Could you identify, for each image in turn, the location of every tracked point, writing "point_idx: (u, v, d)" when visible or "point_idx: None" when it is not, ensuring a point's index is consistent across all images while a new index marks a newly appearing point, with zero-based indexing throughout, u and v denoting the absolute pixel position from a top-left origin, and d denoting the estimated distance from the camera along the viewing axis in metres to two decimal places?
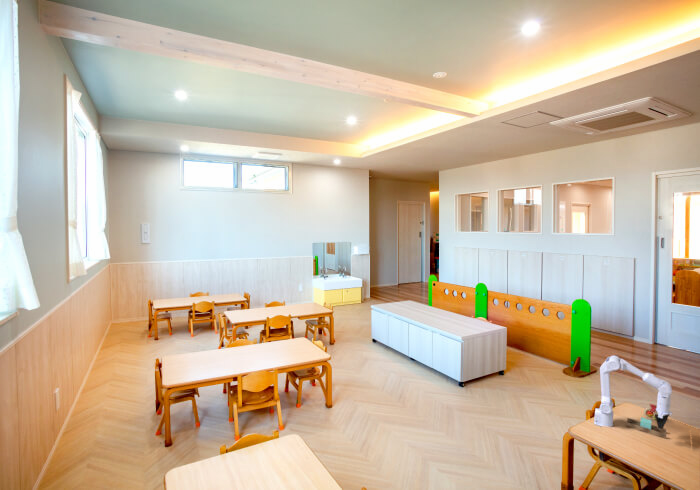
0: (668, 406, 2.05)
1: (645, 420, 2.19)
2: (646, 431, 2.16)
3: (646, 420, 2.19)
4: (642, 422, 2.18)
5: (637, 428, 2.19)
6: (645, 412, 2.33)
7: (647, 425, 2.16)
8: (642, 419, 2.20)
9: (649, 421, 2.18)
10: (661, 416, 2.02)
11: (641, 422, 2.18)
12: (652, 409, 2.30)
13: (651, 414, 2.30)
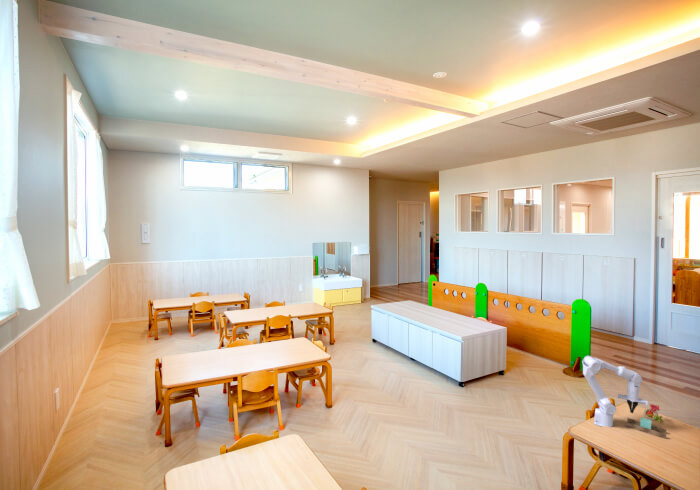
0: (630, 392, 2.21)
1: (645, 420, 2.19)
2: (646, 431, 2.16)
3: (646, 420, 2.19)
4: (642, 422, 2.18)
5: (637, 428, 2.19)
6: (645, 412, 2.33)
7: (647, 425, 2.16)
8: (642, 419, 2.20)
9: (649, 421, 2.18)
10: None
11: (641, 422, 2.18)
12: (652, 409, 2.30)
13: (651, 414, 2.30)
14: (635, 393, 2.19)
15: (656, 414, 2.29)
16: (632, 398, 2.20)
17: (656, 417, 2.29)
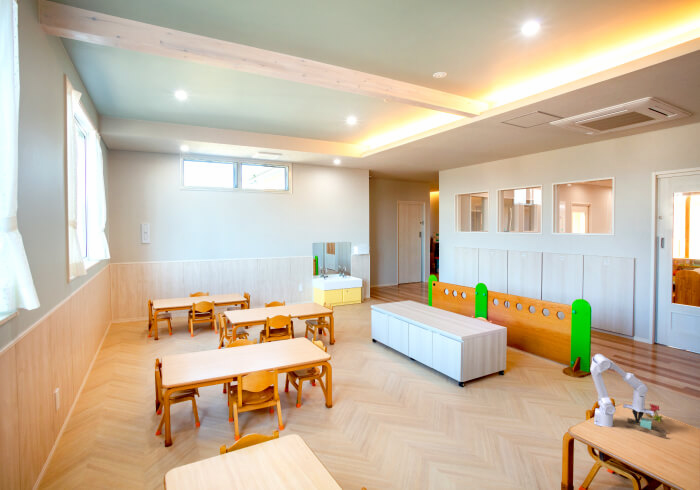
0: (635, 402, 2.20)
1: (645, 420, 2.19)
2: (646, 431, 2.16)
3: (646, 420, 2.19)
4: (642, 422, 2.18)
5: (637, 428, 2.19)
6: None
7: (647, 425, 2.16)
8: (642, 419, 2.20)
9: (649, 421, 2.18)
10: (623, 405, 2.25)
11: (641, 422, 2.18)
12: (652, 409, 2.30)
13: None
14: (640, 403, 2.18)
15: (656, 414, 2.29)
16: (637, 408, 2.19)
17: (656, 417, 2.29)
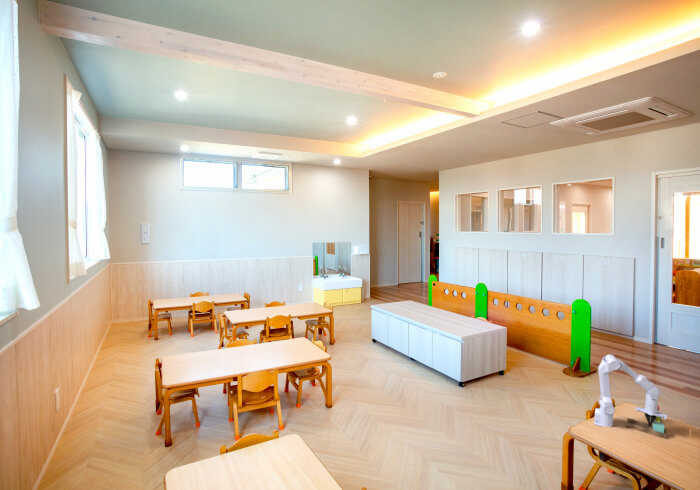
0: (648, 406, 2.16)
1: (658, 424, 2.15)
2: (646, 431, 2.16)
3: (659, 424, 2.15)
4: (655, 426, 2.14)
5: (637, 428, 2.19)
6: None
7: (660, 428, 2.12)
8: (655, 423, 2.16)
9: (662, 425, 2.14)
10: (635, 408, 2.21)
11: (654, 426, 2.14)
12: None
13: None
14: (653, 406, 2.14)
15: None
16: (650, 411, 2.15)
17: (656, 417, 2.29)
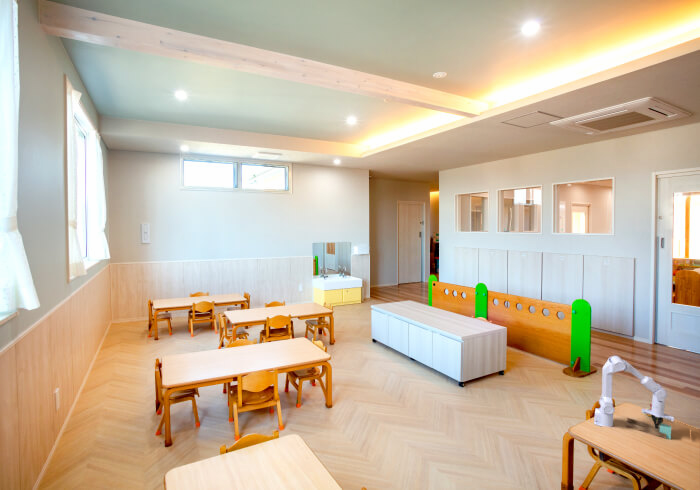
0: (654, 408, 2.14)
1: (664, 426, 2.13)
2: (646, 431, 2.16)
3: (665, 426, 2.13)
4: (661, 428, 2.12)
5: (637, 428, 2.19)
6: None
7: (667, 430, 2.10)
8: (661, 425, 2.14)
9: (669, 427, 2.12)
10: None
11: (660, 428, 2.12)
12: None
13: None
14: (660, 408, 2.12)
15: None
16: (657, 413, 2.13)
17: None
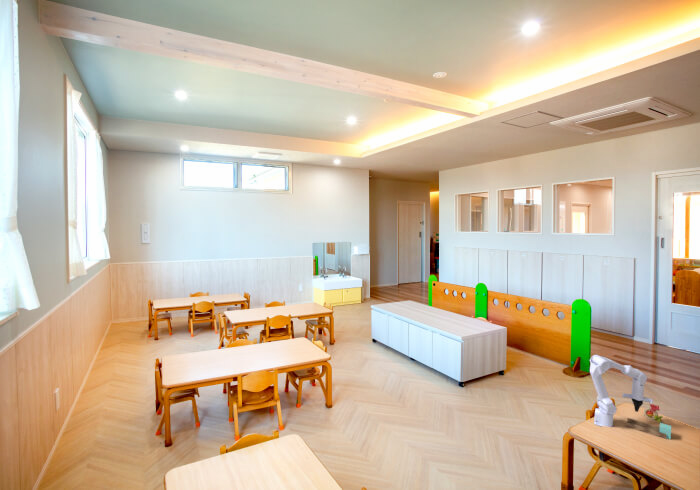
0: (635, 391, 2.22)
1: (664, 426, 2.13)
2: (646, 431, 2.16)
3: (665, 426, 2.13)
4: (661, 428, 2.12)
5: (637, 428, 2.19)
6: (645, 412, 2.33)
7: (667, 430, 2.10)
8: (661, 425, 2.14)
9: (669, 427, 2.12)
10: (622, 395, 2.27)
11: (660, 428, 2.12)
12: (652, 409, 2.30)
13: (651, 414, 2.30)
14: (640, 392, 2.21)
15: (656, 414, 2.29)
16: (637, 397, 2.22)
17: (656, 417, 2.29)
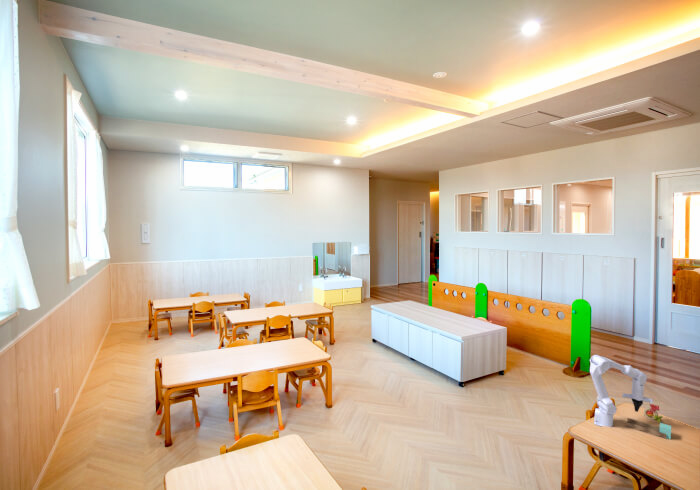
0: (635, 391, 2.22)
1: (664, 426, 2.13)
2: (646, 431, 2.16)
3: (665, 426, 2.13)
4: (661, 428, 2.12)
5: (637, 428, 2.19)
6: (645, 412, 2.33)
7: (667, 430, 2.10)
8: (661, 425, 2.14)
9: (669, 427, 2.12)
10: (622, 395, 2.27)
11: (660, 428, 2.12)
12: (652, 409, 2.30)
13: (651, 414, 2.30)
14: (640, 392, 2.21)
15: (656, 414, 2.29)
16: (637, 397, 2.22)
17: (656, 417, 2.29)
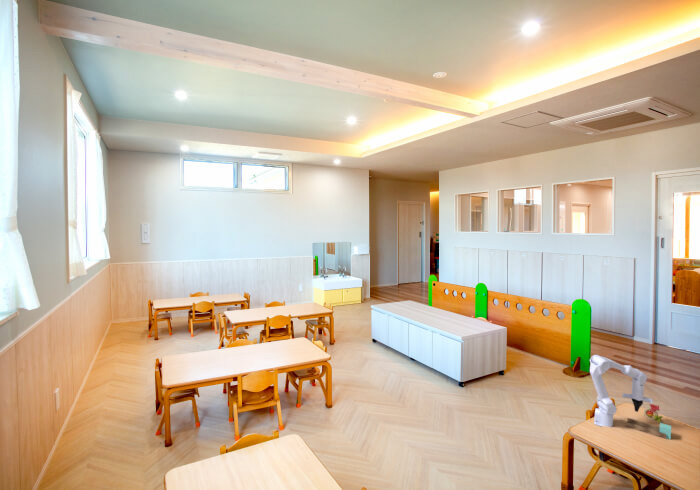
0: (635, 391, 2.22)
1: (664, 426, 2.13)
2: (646, 431, 2.16)
3: (665, 426, 2.13)
4: (661, 428, 2.12)
5: (637, 428, 2.19)
6: (645, 412, 2.33)
7: (667, 430, 2.10)
8: (661, 425, 2.14)
9: (669, 427, 2.12)
10: (622, 395, 2.27)
11: (660, 428, 2.12)
12: (652, 409, 2.30)
13: (651, 414, 2.30)
14: (640, 392, 2.21)
15: (656, 414, 2.29)
16: (637, 397, 2.22)
17: (656, 417, 2.29)
